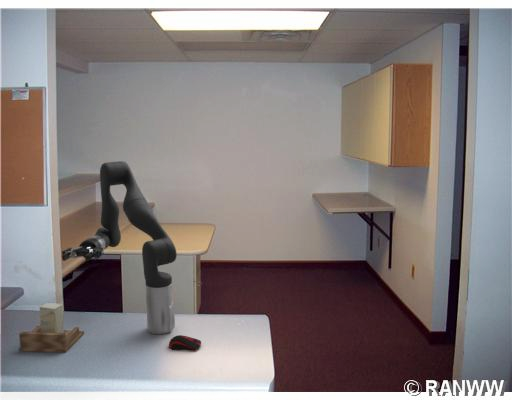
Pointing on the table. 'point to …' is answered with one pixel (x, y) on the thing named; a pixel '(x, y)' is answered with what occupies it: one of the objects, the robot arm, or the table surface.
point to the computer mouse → (184, 343)
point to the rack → (49, 340)
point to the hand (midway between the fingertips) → (74, 258)
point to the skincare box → (51, 318)
